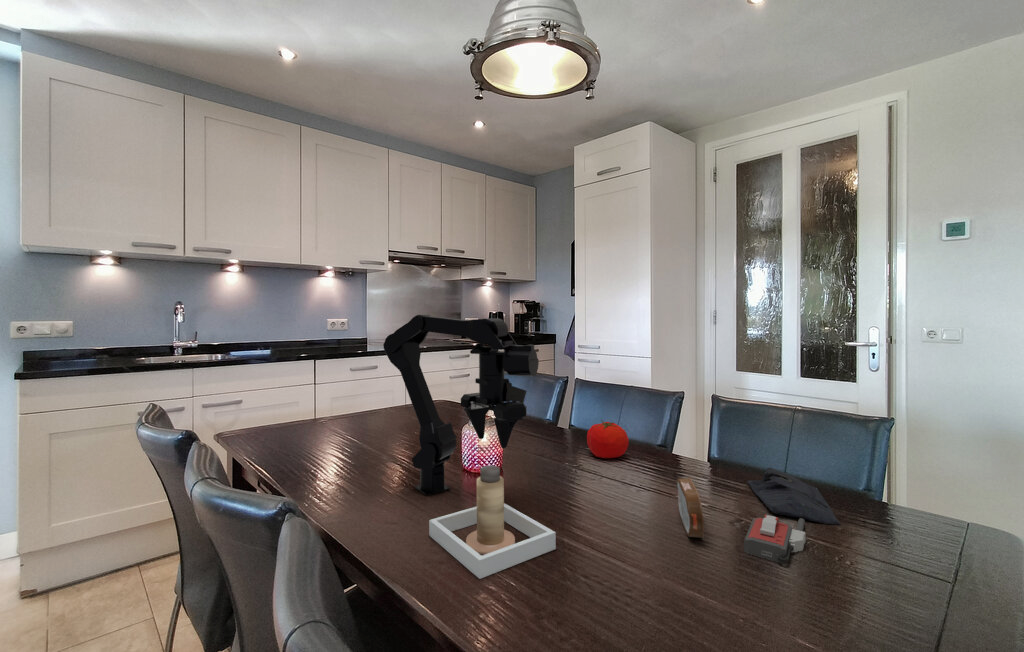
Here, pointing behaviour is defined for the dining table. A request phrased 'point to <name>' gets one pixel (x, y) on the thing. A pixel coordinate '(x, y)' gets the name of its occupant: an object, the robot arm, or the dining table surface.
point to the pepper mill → (490, 506)
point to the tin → (690, 508)
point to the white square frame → (496, 554)
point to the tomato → (607, 440)
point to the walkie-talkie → (774, 539)
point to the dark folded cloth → (792, 497)
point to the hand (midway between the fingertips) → (492, 443)
